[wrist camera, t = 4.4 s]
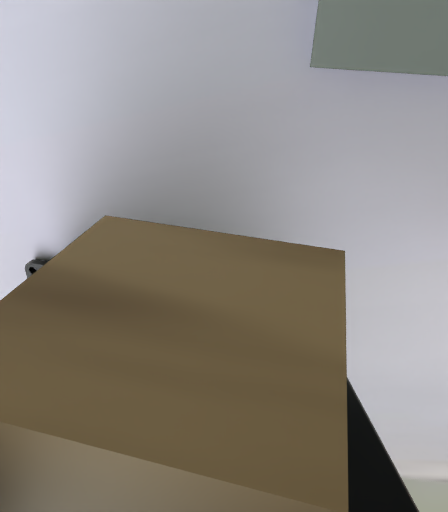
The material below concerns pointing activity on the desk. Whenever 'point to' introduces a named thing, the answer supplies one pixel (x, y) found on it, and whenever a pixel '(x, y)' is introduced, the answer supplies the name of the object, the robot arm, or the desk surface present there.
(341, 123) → the desk surface
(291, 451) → the walnut block
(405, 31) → the blueprint plate
